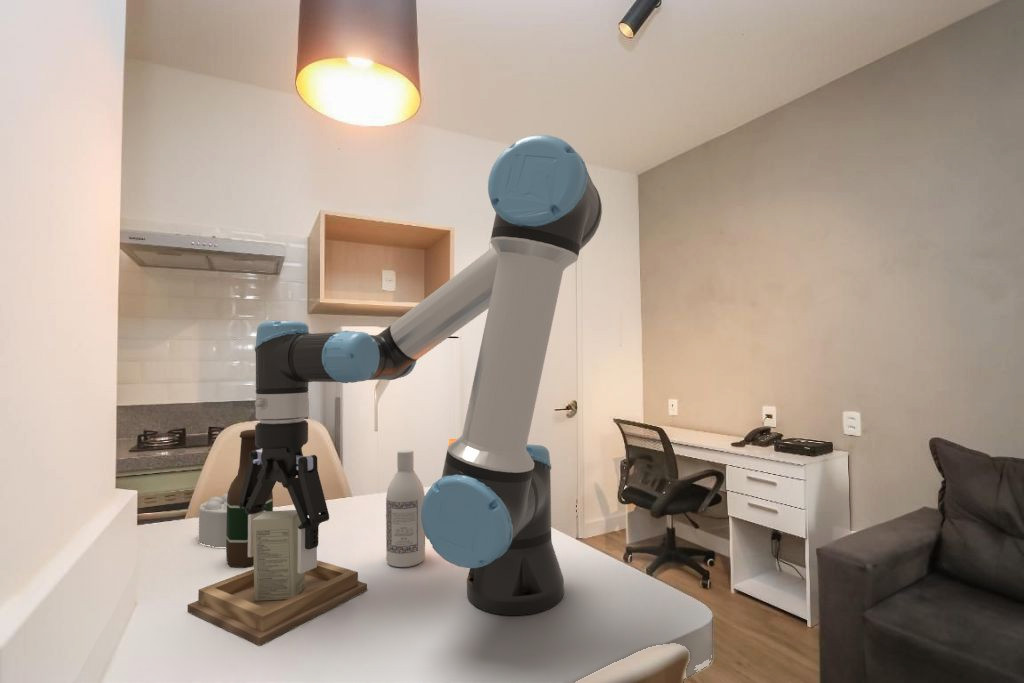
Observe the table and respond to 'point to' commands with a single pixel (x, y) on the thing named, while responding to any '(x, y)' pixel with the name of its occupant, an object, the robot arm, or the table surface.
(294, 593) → the skincare box
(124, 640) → the table surface
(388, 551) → the bath foam
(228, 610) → the wooden tray
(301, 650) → the table surface
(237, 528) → the beer bottle
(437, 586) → the table surface
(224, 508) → the lumpy-topped squat cylinder
